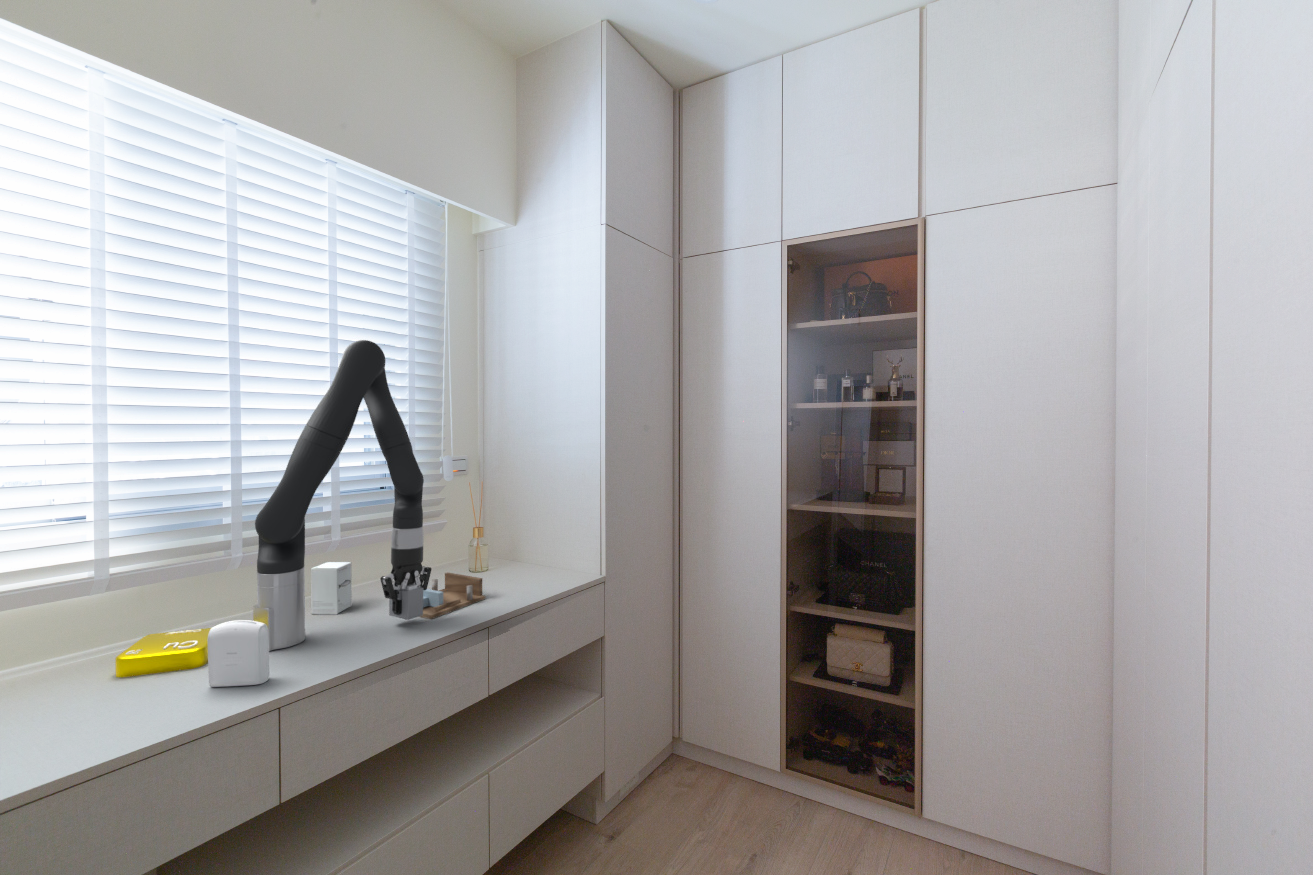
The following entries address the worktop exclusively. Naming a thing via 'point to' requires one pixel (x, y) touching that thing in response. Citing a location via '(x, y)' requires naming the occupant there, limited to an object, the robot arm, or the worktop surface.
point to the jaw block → (410, 602)
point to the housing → (455, 594)
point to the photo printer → (238, 653)
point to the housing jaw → (432, 598)
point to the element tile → (164, 653)
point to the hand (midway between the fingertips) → (406, 610)
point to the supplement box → (331, 588)
